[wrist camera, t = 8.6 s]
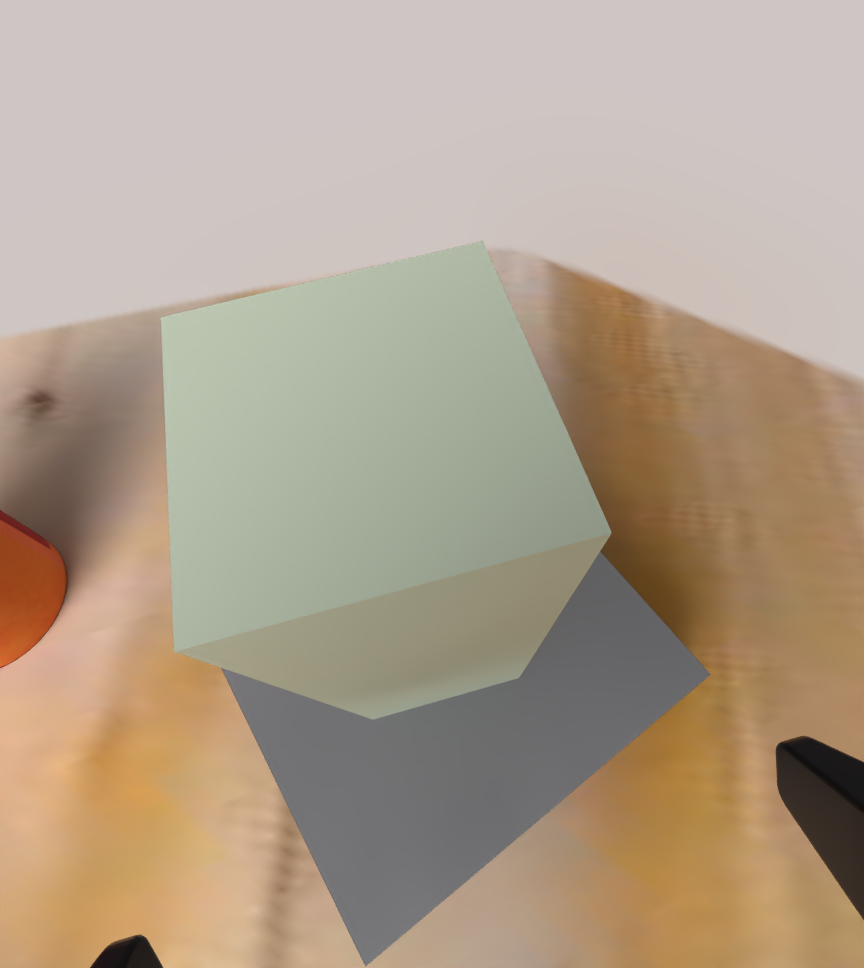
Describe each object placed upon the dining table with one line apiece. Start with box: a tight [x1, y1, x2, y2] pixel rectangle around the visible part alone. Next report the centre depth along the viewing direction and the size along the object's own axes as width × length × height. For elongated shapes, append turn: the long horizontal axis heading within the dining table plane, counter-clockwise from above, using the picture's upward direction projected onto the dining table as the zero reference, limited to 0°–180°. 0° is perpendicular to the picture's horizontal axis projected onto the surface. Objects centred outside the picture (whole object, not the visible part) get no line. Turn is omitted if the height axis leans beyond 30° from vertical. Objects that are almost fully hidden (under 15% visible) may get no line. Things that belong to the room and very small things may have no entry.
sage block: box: [161, 241, 612, 719], centre depth 12 cm, size 4×4×12 cm
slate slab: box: [221, 552, 711, 966], centre depth 18 cm, size 12×12×2 cm
